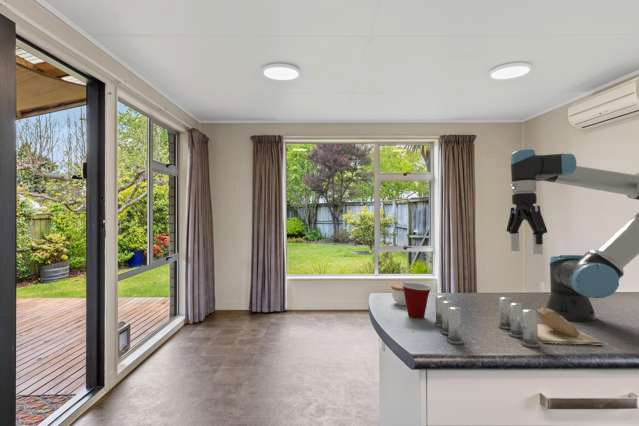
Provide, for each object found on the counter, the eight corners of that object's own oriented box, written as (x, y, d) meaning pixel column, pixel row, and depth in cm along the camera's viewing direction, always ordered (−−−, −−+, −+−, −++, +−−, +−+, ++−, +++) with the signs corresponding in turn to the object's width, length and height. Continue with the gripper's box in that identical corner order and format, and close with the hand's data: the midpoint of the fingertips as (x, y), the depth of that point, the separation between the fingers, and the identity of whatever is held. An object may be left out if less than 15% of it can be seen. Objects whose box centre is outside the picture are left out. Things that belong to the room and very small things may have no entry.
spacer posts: (509, 326, 115) (509, 296, 115) (542, 348, 94) (542, 312, 95) (433, 323, 117) (433, 294, 118) (449, 344, 97) (449, 309, 97)
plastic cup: (433, 322, 119) (433, 288, 120) (402, 320, 121) (402, 286, 122) (430, 313, 130) (429, 282, 130) (401, 312, 132) (401, 281, 132)
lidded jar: (421, 306, 142) (421, 283, 142) (399, 307, 139) (399, 285, 139) (408, 300, 152) (408, 279, 153) (387, 301, 149) (387, 280, 150)
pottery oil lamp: (566, 340, 98) (566, 316, 98) (530, 328, 110) (529, 306, 110) (588, 337, 100) (587, 313, 101) (550, 325, 112) (550, 304, 112)
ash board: (567, 328, 112) (567, 325, 112) (602, 345, 97) (602, 342, 97) (517, 326, 114) (517, 323, 114) (543, 343, 98) (543, 340, 98)
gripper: (495, 196, 133) (497, 249, 132) (534, 190, 108) (537, 255, 107) (514, 195, 133) (516, 249, 132) (558, 189, 108) (561, 255, 107)
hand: (526, 252), depth 120 cm, fingers open, 13 cm apart
